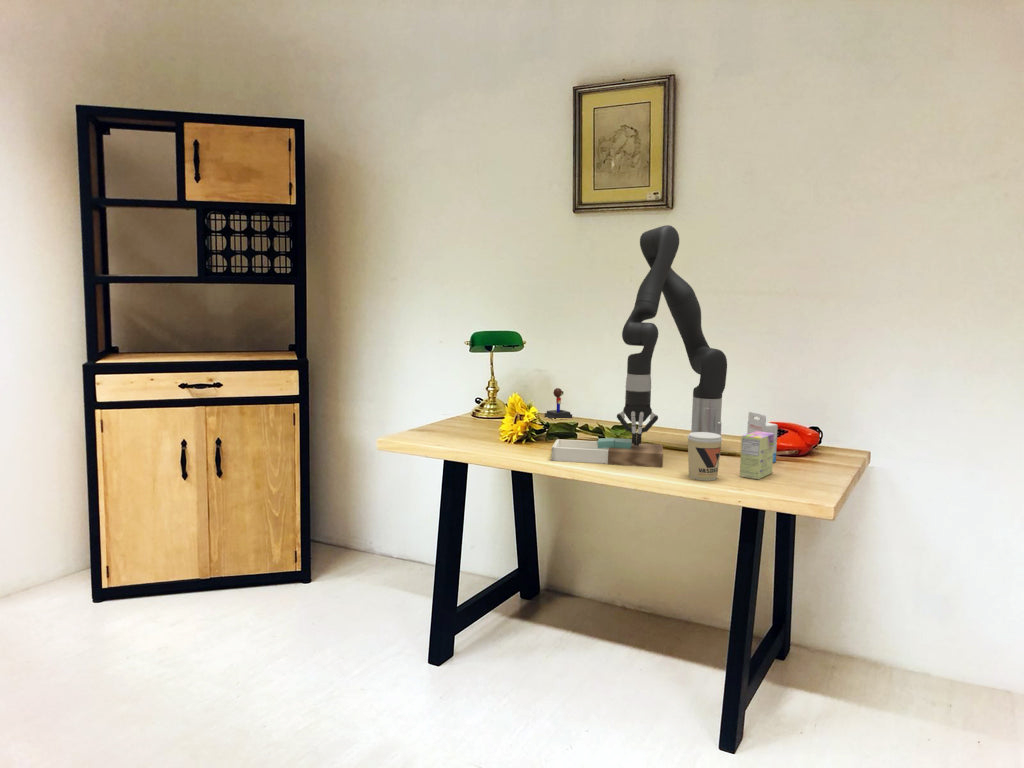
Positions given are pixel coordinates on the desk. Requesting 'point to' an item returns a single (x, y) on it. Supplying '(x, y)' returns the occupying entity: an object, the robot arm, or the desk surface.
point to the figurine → (558, 407)
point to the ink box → (762, 428)
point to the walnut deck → (637, 455)
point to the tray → (579, 451)
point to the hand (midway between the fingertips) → (636, 445)
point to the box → (756, 454)
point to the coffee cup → (704, 455)
